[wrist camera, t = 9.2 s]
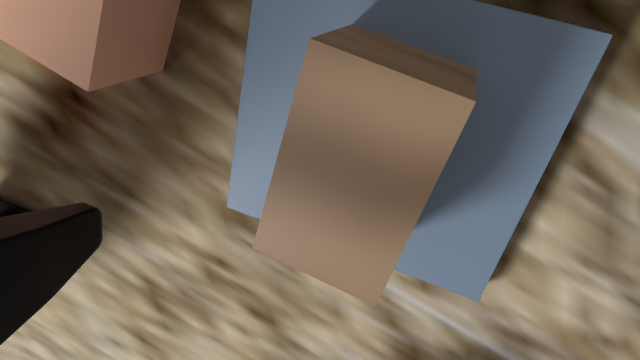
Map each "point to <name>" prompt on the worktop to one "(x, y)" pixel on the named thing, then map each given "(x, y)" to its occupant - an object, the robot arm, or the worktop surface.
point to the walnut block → (361, 156)
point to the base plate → (479, 130)
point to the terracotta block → (92, 37)
